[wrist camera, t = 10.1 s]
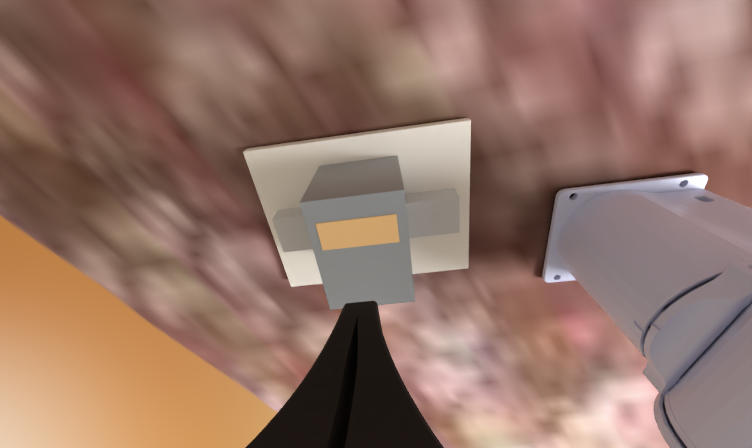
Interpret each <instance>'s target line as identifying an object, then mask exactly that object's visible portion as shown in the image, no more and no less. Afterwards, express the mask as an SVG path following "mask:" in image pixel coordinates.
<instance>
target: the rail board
mask: <svg viewBox="0 0 752 448" xmlns="http://www.w3.org/2000/svg"><path fill="white" fill-rule="evenodd" d="M470 144H471V120H470V119H468V118H462V119H455V120H448V121H440V122H433V123H426V124H419V125H412V126H405V127H397V128H390V129H383V130H376V131H369V132H362V133H354V134H347V135H340V136H333V137H326V138H319V139H312V140H304V141H297V142H290V143H283V144H276V145H269V146H261V147H254V148H248V149H246V150H245V151H243V154H244V157H245V159H246V162H247V165H248V168H249V170H250V173H251V176H252V179H253V182H254V184H255V187H256V190H257V193H258V196H259V198H260V201H261V204H262V207H263V210H264V212H265V215H266V218H267V221H268V224H269V226H270V229H271V232H272V235H273V238H274V240H275V243H276V246H277V249H278V251H279V254H280V257H281V260H282V263H283V265H284V268H285V271H286V274H287V277H288V279H289V282H290V285H291V287H294V286H304V285H313V284H323V283H322V279H321V276H320V272H319V269H318V265H317V262H316V258H315V255H314V251H313V248H312V244H311V241H310V237H309V234H308V231H307V227H306V224H305V220H304V217H303V213H302V210H301V206H300V201H301V199H302V197H303V195H304V193H305V192H306V190H307V188H308V186H309V184H310V182H311V180H312V178H313V177H314V175H315V173H316V171H317V169H318V167H319V166H322V165H329V164H337V163H344V162H352V161H359V160H367V159H375V158H382V157H390V156H397V155H398V160H399V165H400V170H401V175H402V180H403V185H404V191H405V201H406V211H407V222H408V232H409V242H410V252H411V263H412V273H413V274H419V273H428V272H438V271H447V270H457V269H466V268H468V262H469V203H470Z"/></svg>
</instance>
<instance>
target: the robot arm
mask: <svg viewBox="0 0 752 448" xmlns="http://www.w3.org/2000/svg"><path fill="white" fill-rule="evenodd" d="M707 180H708V177H707V175H705V174H702V173H692V174H684V175H675V176H667V177H659V178H650V179H642V180H634V181H626V182H617V183H609V184H601V185H592V186H584V187H576V188H567V189H562V190H560V191H559V192H558V193H557V194H556V197H555V203H554V209H553V215H552V220H551V226H550V232H549V238H548V244H547V250H546V256H545V262H544V268H543V273H542V278H543V279H544V281H545V282H548V283H550V282H560V281H570V280H577V281H578V282H579V284H580V285H581V286H582V287H583V288H584V289H585V290H586V291H587V293H588V294H589V295H590V296H591V297H592V298H593V299H594V300H595V302H596V303H597V304H598V305H599V306H600V307H601V308H602V309H603V311H604V312H605V313H606V314H607V315H608V316H609V317H610V318H611V320H612V321H613V322H614V323H615V324H616V325H617V326H618V327H619V329H620V330H621V331H622V332H623V333H624V334H625V335H626V336H627V338H628V339H629V340H630V341H631V342H632V343H633V344H634V345H635V347H636V348H637V349H638V350H639V351H640V352H641V353H642V354H643V356H644V357H645V358H646V359H647V365H646V368H645V369H644V371H643V374H644V375H645V376H646V377H647V378H648V380H649V381H650V382H651V383H652V384H653V386H654V387H655V388H656V389H657V390H658V392H659V394H658V395H657V397H656V399H655V401H654V415H655V420H656V423H657V425H658V428H659V430H660V432H661V434H662V436H663V438H664V439H665V441H666V443H667V444H668V446H669V447H670V448H752V209H751V208H749V207H747V206H744V205H742V204H739V203H737V202H734V201H732V200H729V199H727V198H724V197H722V196H720V195H717V194H715V193H712V192H710V191H707V190H705V189H704V188H705V185H706V183H707ZM681 182H682V183H681ZM680 183H681V184H680ZM573 193H574V196H573V197H571V198H569V197H570V195H571V194H573ZM556 275H557V276H556ZM554 276H555V277H554ZM246 448H444V447H443V446H442V445H441V443H440V442H439V440H438V439H437V437H436V436H435V434H434V433H433V432H432V430H431V429H430V427H429V425H428V424H427V422H426V421H425V419H424V418H423V416H422V415H421V413H420V411H419V409H418V408H417V406H416V404H415V403H414V401H413V399H412V397H411V396H410V394H409V392H408V390H407V389H406V387H405V385H404V383H403V381H402V379H401V377H400V375H399V373H398V371H397V369H396V367H395V364H394V362H393V360H392V357H391V355H390V353H389V350H388V348H387V345H386V342H385V339H384V336H383V333H382V328H381V322H380V316H379V311H378V305H377V302H376V301H365V302H354V303H346V304H345V305H344V307H343V309H342V312H341V314H340V316H339V319H338V321H337V323H336V325H335V327H334V329H333V331H332V333H331V335H330V337H329V339H328V341H327V342H326V344H325V346H324V348H323V350H322V351H321V353H320V355H319V356H318V358H317V360H316V361H315V363H314V365H313V366H312V368H311V369H310V371H309V372H308V374H307V375H306V377H305V378H304V380H303V381H302V382H301V384H300V385H299V387H298V388H297V389H296V391H295V392H294V393H293V394H292V396H291V397H290V398H289V400H288V401H287V402H286V404H285V405H284V406H283V407H282V408H281V410H280V411H279V412H278V413H277V414H276V415H275V417H274V418H273V419H272V420H271V421H270V422H269V423H268V425H267V426H266V427H265V428H264V429H263V430H262V431H261V432H260V433H259V434H258V435H257V437H256V438H255V439H254V440H253V441H252V442H251V443H250V444H249V445H248V446H247V447H246Z"/></svg>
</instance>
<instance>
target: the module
mask: <svg viewBox="0 0 752 448" xmlns="http://www.w3.org/2000/svg"><path fill="white" fill-rule="evenodd" d="M300 206H301V210H302V213H303V217H304V220H305V224H306V227H307V231H308V234H309V237H310V241H311V244H312V248H313V251H314V255H315V258H316V262H317V265H318V269H319V272H320V276H321V279H322V283H323V286H324V289H325V293H326V296H327V300H328V303H329V307H330V310H332V309H342V308H343V307H344V305H345V304H346V303H354V302H365V301H376V302H377V305H383V304H394V303H404V302H414V301H415V294H414V283H413V273H412V263H411V252H410V242H409V232H408V222H407V211H406V201H405V191H404V185H403V180H402V175H401V170H400V165H399V160H398V155H397V156H390V157H382V158H375V159H367V160H359V161H352V162H344V163H337V164H329V165H322V166H319V167H318V169H317V171H316V173H315V175H314V177H313V178H312V180H311V182H310V184H309V186H308V188H307V190H306V192H305V193H304V195H303V197H302V199H301V201H300Z"/></svg>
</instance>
